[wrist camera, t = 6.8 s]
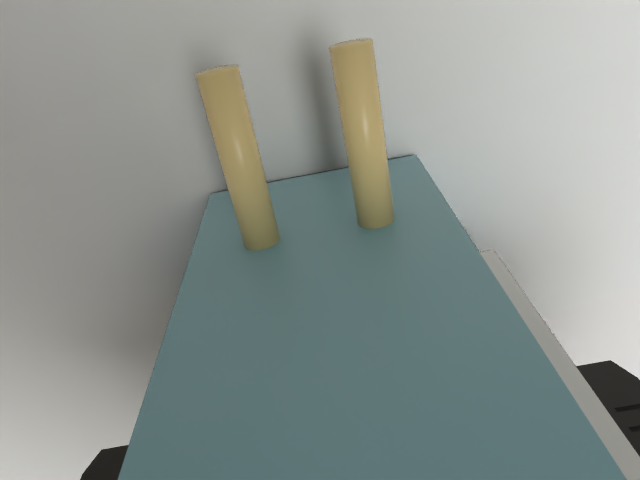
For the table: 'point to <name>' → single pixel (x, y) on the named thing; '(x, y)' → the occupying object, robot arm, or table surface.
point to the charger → (347, 327)
